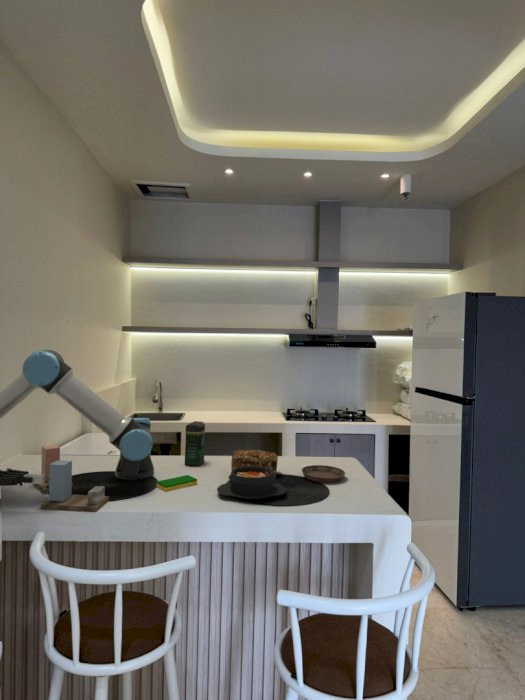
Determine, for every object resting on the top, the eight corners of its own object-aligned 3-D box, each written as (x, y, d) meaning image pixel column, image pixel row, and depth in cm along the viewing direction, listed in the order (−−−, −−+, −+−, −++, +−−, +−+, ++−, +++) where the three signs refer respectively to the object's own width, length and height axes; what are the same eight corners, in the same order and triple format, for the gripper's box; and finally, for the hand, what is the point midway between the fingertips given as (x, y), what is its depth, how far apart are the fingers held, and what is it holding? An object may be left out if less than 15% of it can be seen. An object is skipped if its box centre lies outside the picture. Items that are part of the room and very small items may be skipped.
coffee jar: (199, 467, 198) (200, 424, 197) (182, 465, 199) (183, 423, 198) (206, 461, 207) (207, 420, 207) (189, 460, 209) (190, 419, 208)
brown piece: (30, 480, 175) (30, 466, 175) (57, 475, 181) (57, 462, 181) (44, 493, 161) (44, 478, 161) (73, 488, 167) (73, 473, 167)
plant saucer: (341, 472, 196) (341, 465, 195) (348, 485, 178) (348, 478, 178) (300, 471, 196) (300, 464, 196) (302, 484, 178) (302, 476, 178)
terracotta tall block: (41, 478, 172) (41, 446, 172) (55, 475, 175) (55, 444, 175) (45, 481, 168) (45, 449, 168) (59, 479, 172) (59, 447, 171)
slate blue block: (49, 500, 149) (49, 464, 149) (57, 495, 154) (57, 460, 154) (63, 501, 149) (64, 465, 149) (71, 496, 154) (71, 460, 154)
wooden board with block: (40, 508, 147) (40, 491, 147) (56, 497, 157) (56, 482, 157) (96, 511, 146) (96, 494, 146) (109, 500, 156) (109, 484, 155)
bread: (230, 477, 185) (231, 452, 185) (234, 469, 195) (234, 446, 195) (276, 479, 183) (277, 454, 183) (277, 471, 194) (278, 448, 194)
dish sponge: (155, 487, 171) (156, 481, 171) (187, 480, 180) (187, 474, 180) (165, 492, 166) (165, 486, 166) (197, 485, 175) (197, 479, 175)
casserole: (282, 486, 175) (283, 464, 175) (289, 503, 157) (290, 479, 157) (217, 486, 173) (217, 464, 173) (216, 504, 155) (217, 479, 154)
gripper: (-11, 481, 160) (53, 484, 158) (-38, 493, 147) (32, 497, 145) (-11, 459, 160) (54, 462, 158) (-38, 470, 147) (32, 474, 145)
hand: (43, 479), depth 152 cm, fingers closed
